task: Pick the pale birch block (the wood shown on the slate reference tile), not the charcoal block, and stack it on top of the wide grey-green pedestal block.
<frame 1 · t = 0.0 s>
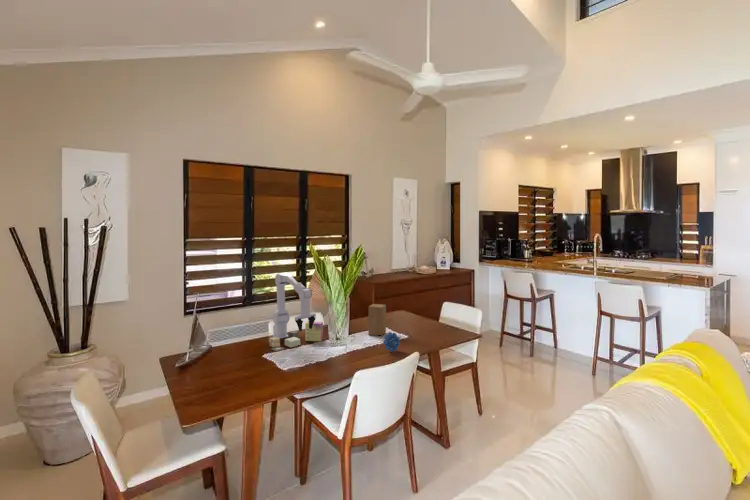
hand: (305, 329, 235), 10 cm above the table, fingers open, 7 cm apart
charcoal block: (293, 339, 249), on the table
box: (314, 340, 247), on the table
grapes: (392, 352, 223), on the table
wooden block: (377, 334, 263), on the table
birch block: (274, 346, 234), on the table
grey-green pedestal: (292, 345, 237), on the table
reference tile: (277, 349, 228), on the table
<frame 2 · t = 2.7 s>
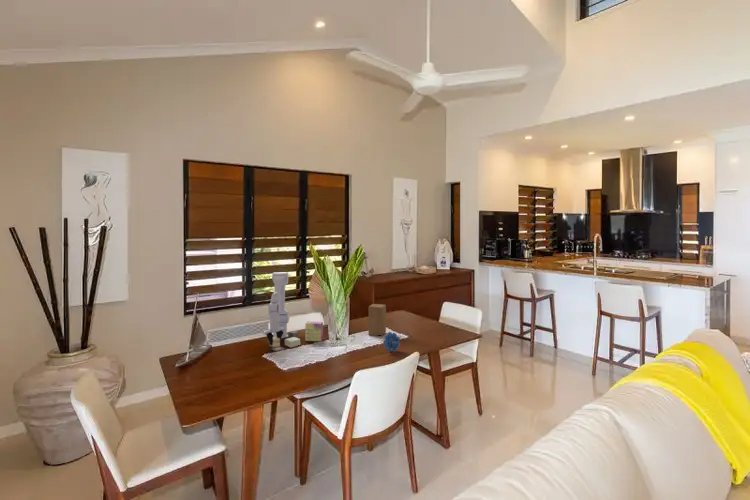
hand: (274, 343, 234), 1 cm above the table, fingers closed on birch block, 4 cm apart
birch block: (274, 346, 234), on the table, touching gripper
everything else where it was.
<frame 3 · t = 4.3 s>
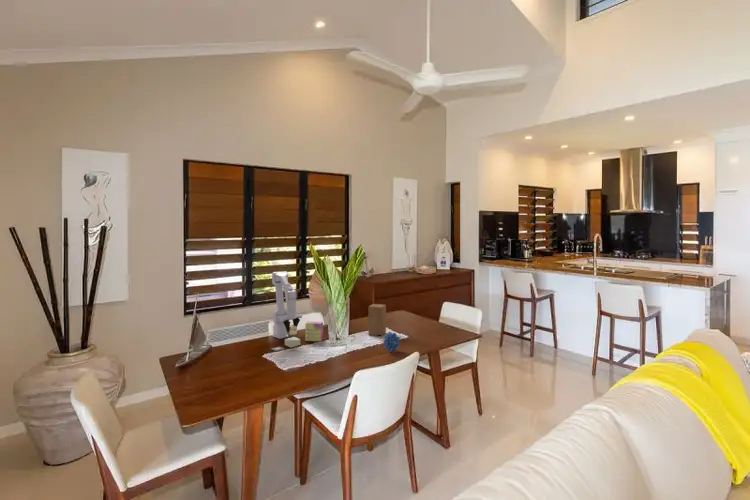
hand: (291, 331, 236), 9 cm above the table, fingers closed on birch block, 4 cm apart
birch block: (291, 333, 236), point 7 cm above the table, touching gripper
everything else where it was.
when the fingers open (6 cm above the table, at t = 5.7 s): birch block stays where it is, resting on grey-green pedestal.
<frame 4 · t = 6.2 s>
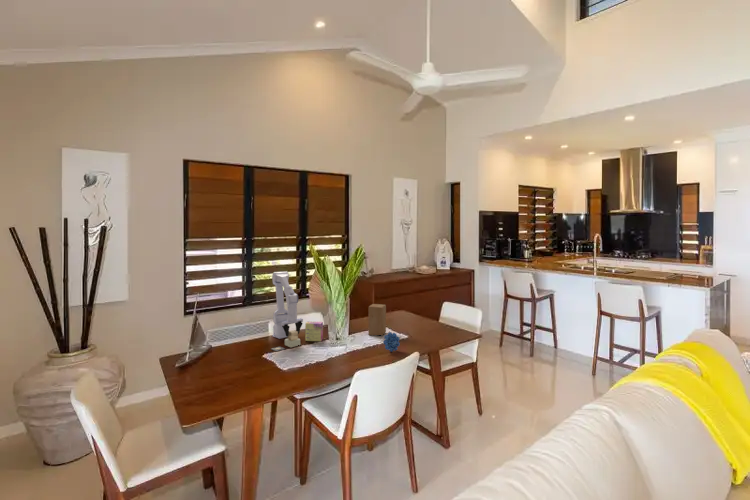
hand: (292, 334, 236), 6 cm above the table, fingers open, 7 cm apart
birch block: (292, 339, 236), point 4 cm above the table, touching grey-green pedestal
grey-green pedestal: (292, 345, 237), on the table, touching birch block
everything else where it was.
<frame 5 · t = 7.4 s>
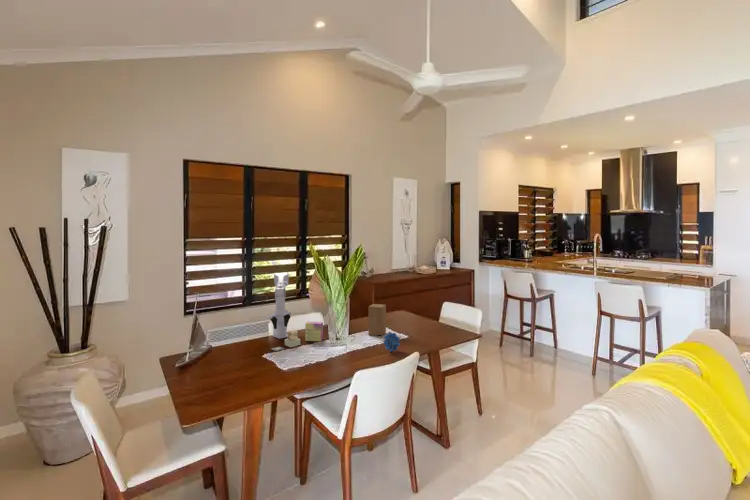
hand: (280, 327, 240), 10 cm above the table, fingers open, 7 cm apart
nothing on the table moved.
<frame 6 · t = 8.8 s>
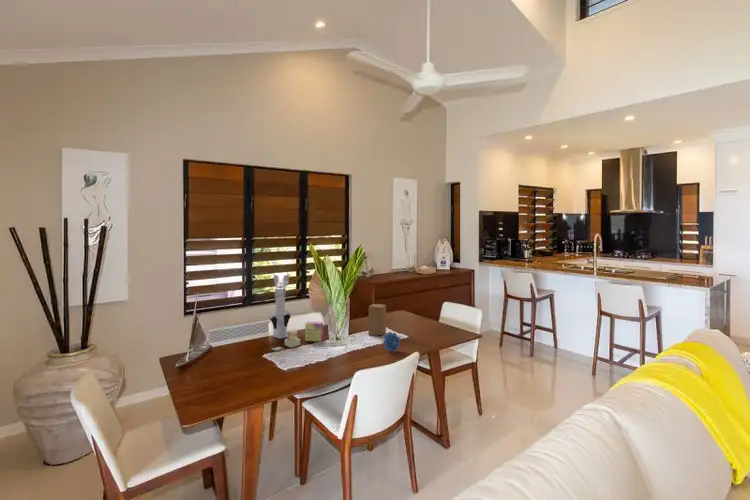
hand: (280, 327, 240), 10 cm above the table, fingers open, 7 cm apart
nothing on the table moved.
at the end: birch block 0.0 cm off-centre on the grey-green pedestal, point 4.0 cm above the grey-green pedestal's base; birch block tilted 0°; the gripper is holding nothing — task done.
